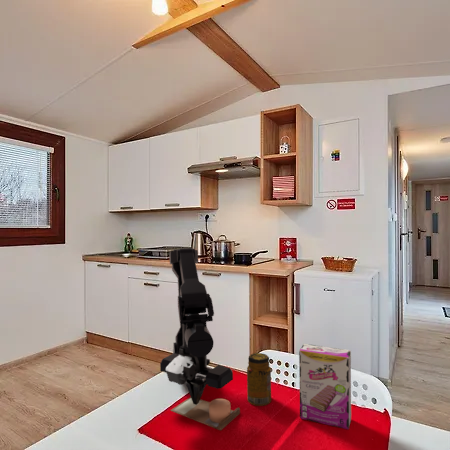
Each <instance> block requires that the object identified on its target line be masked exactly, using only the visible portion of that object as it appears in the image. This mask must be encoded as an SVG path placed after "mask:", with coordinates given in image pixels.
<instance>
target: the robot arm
mask: <svg viewBox="0 0 450 450" xmlns="http://www.w3.org/2000/svg"><path fill="white" fill-rule="evenodd" d="M198 250H199V249H198ZM198 250H197V249H195V248H193V247H181V248H177V249H176V248H174V249H172V251H169V257H168V258H169V265H171V271H172V273H173V275H175V277H176V278H177V290H178V292H177V293H178V295H177V310H178V311H177V312H178V318H179V319H178V320H179V328H178V330H177V333H176V335H175V342H173V346H172V354H170V355H168V356H166V357H164V358H162V359H161V361H160V365H159V367H160V368H159V369H160V372H162V373H166V376H167V378H168V379H167V380H168V381H169V382H171V383H174V384H175V383H176V384H177V385H180V386H181V385H185V386H186V388H187V391H188V393H189V396H190V397H191V399H192V401H193V404H195V405H197V404H198V403H199V401H200V399H201V398H202V395H203V394H204V390H205V388H206V386H208V387H210V388H214V389H216V390H220V389H223V387H225V386H227V385H228V384H229V383H230V382H232V381H233V379H234V373H233V369H232V368H230V367H228V366H223V365H220V364H218V365H216V366H214V367H210V366H208V365H210V364H211V360H210V359H209V358H207V355H209V354H210V353H211V351H212V350H213V348H214V339H213V336H212V335H211V332H210V331H209V329H208V327H207V322H213V321H214V319H213V317H214V316H215V310H214V306H213V300H212V297H211V295H210V294H209V293H208V292H207V288H206V285H205V284H203V283H202V282H201V281H200V280H199V275H198V270H197V265H196V264H198V263H199V251H198Z"/></svg>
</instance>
